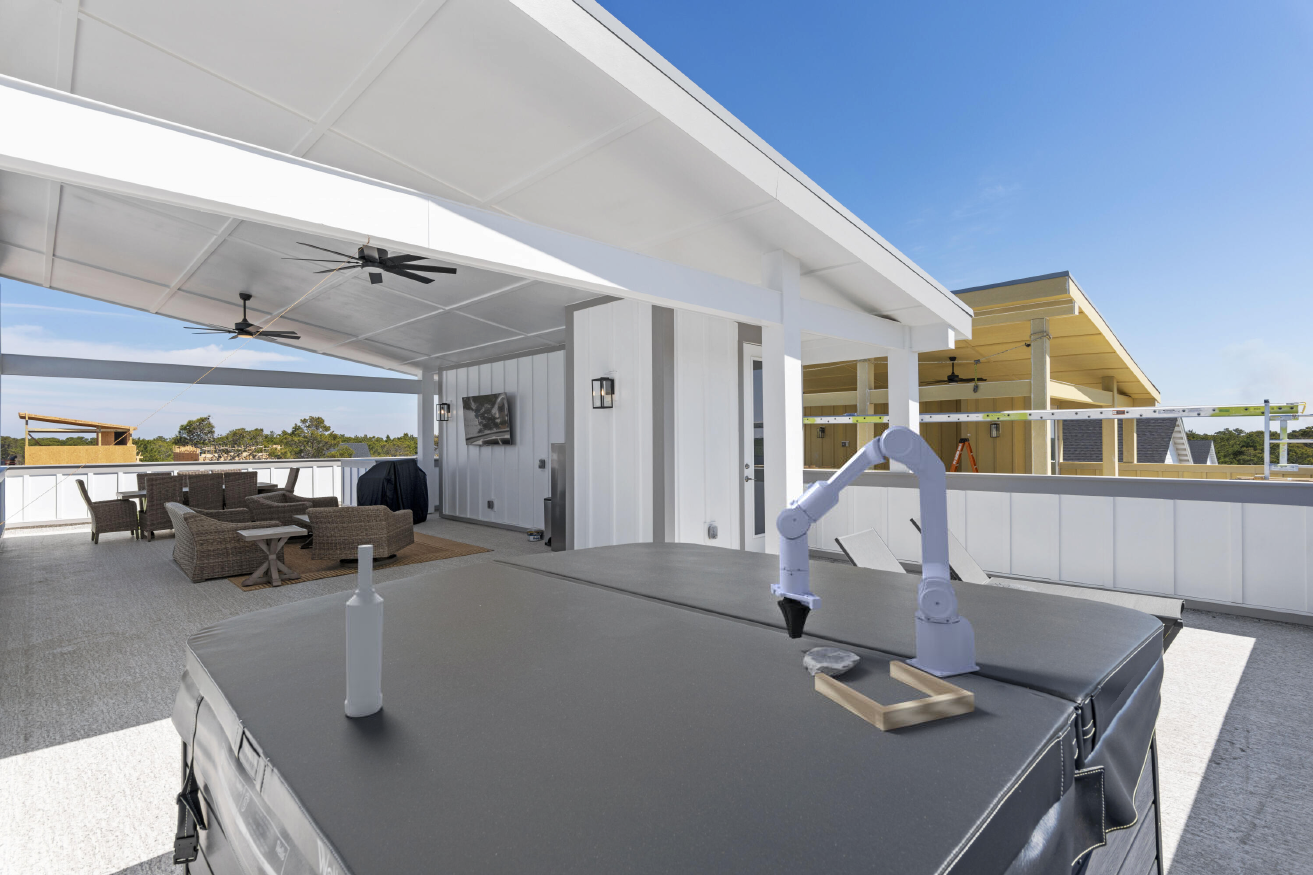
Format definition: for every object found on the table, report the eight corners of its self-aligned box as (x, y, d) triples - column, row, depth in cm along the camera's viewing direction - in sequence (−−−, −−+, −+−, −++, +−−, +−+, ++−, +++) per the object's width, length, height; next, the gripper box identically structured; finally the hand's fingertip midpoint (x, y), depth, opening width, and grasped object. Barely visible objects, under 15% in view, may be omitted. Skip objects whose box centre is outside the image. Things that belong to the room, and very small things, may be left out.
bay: (897, 675, 100) (896, 660, 100) (974, 710, 85) (974, 693, 85) (815, 689, 94) (814, 674, 94) (883, 730, 79) (882, 712, 79)
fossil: (799, 642, 110) (852, 634, 108) (803, 663, 110) (857, 655, 108) (803, 669, 98) (862, 660, 97) (808, 692, 99) (868, 684, 97)
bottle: (390, 705, 89) (391, 544, 90) (363, 719, 84) (365, 548, 85) (364, 701, 91) (366, 542, 92) (336, 715, 86) (338, 547, 87)
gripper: (757, 563, 120) (758, 629, 119) (798, 576, 106) (799, 650, 105) (786, 561, 122) (787, 625, 121) (829, 573, 108) (831, 646, 108)
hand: (795, 637), depth 114 cm, fingers closed
